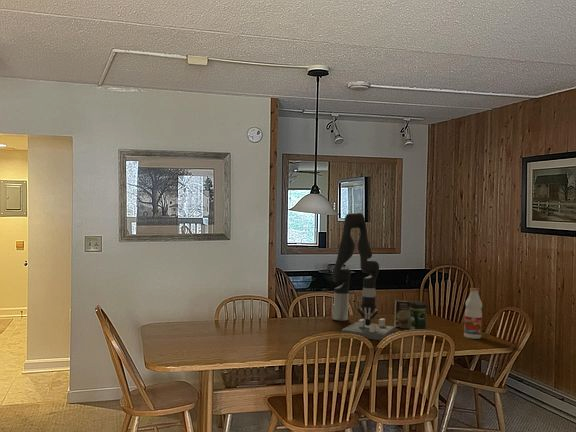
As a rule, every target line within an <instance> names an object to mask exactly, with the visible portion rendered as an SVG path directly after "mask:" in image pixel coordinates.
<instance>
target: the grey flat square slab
mask: <svg viewBox="0 0 576 432" xmlns="http://www.w3.org/2000/svg"><path fill="white" fill-rule="evenodd" d="M375 324H376V331H375V332H369V327H370V325H369V326H366V324H365V326H364V327H363V328H362V327H358V326H359V321H355V322H354V323H353V322H352V324H349V325H347V326H346V327H344V328H342V329H341V330H340V331H341V332H350V333H356V334H359V335H362V336H364V337H366V338H365V339H369V340H370V339H371V340H376V341H382V340H381V339H383V338H384V337H385V336H387V335H389V334H391V333H393V332H394V333H396V327H395V326H394V325H385V326H383V327H380V326H379V324H377V323H375ZM394 333H393V334H394ZM391 335H392V334H391Z"/></svg>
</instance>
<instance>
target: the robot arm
mask: <svg viewBox="0 0 576 432" xmlns="http://www.w3.org/2000/svg"><path fill="white" fill-rule="evenodd" d="M352 229H359V233H360V234H359V237H358V241H357V250H358V253H359V257H360V260H359V261H360V271H361V272H362V273H364V274H369V275H368V276H366V277H364V278H363V279H362V293H361V294H362V296H361V298H362V299H361V306H360V307H358V308H357V312H358V313H359V315H360V316H361V317H362V319H365V324H366V326H369V325H370V324H372V321H371V320H372V319H374V318H375V317H376V316H377V315H378V314H379V313H380V310H379V309H377V306H376V296H377V293H376V282H377V281H376V280H377V278H378V275H379V272H380V264H379V263H378V262H377V261H376V260H369V259H371V258H372V257H373V252H372V249H371V246H370V243H369V238H368V237H369V236H368V231H367V225H366V219H365V217H364V214H363V212H348V213H347V214H346V215H345V218H344V221H343V229H342V236H341V239H340V243H339V247H338V253H337V257H336V260H335V264H334V267H333V269H332V274H331V275H332V277H331V278H332V281H333V282H335V283H342V284H341V285H339V286H337V287H335V288H334V290H333V292H334V295H333V304H332V314H331V315H332V318H331V320H334V321H342V322H343V321H348V320H349V319H348V318H349V295H350V294H349V291H350V281H351V280H350V279H351V270H350V269H349V268H348V267H344V265H345V264H346V263H347V262H348V261H349V260H350V259H351V258H352V256H353V255H354V251H355V248H356V247H355V246H356V244H355V241H354V240H353V237H352V235H351V234H352V233H351V231H352ZM373 312H374V313H373Z"/></svg>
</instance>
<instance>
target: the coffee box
mask: <svg viewBox="0 0 576 432" xmlns="http://www.w3.org/2000/svg"><path fill="white" fill-rule="evenodd" d="M394 302H395V303H394V321H393V326H394V327H395V328H396V327H400V328H399V329H409V324H410V303H411V302H412V301H410V300H404V299H403V300H401V299H400V300H399V299H395V300H394Z"/></svg>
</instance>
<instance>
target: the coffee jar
mask: <svg viewBox="0 0 576 432" xmlns="http://www.w3.org/2000/svg"><path fill="white" fill-rule="evenodd" d="M426 314H427V302H425V301H422V300H421V301H419V300H418V301H411V303H410V324H409V328H408V331H409V330H411V329H426V330H427V325H426V322H427V321H426Z"/></svg>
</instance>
